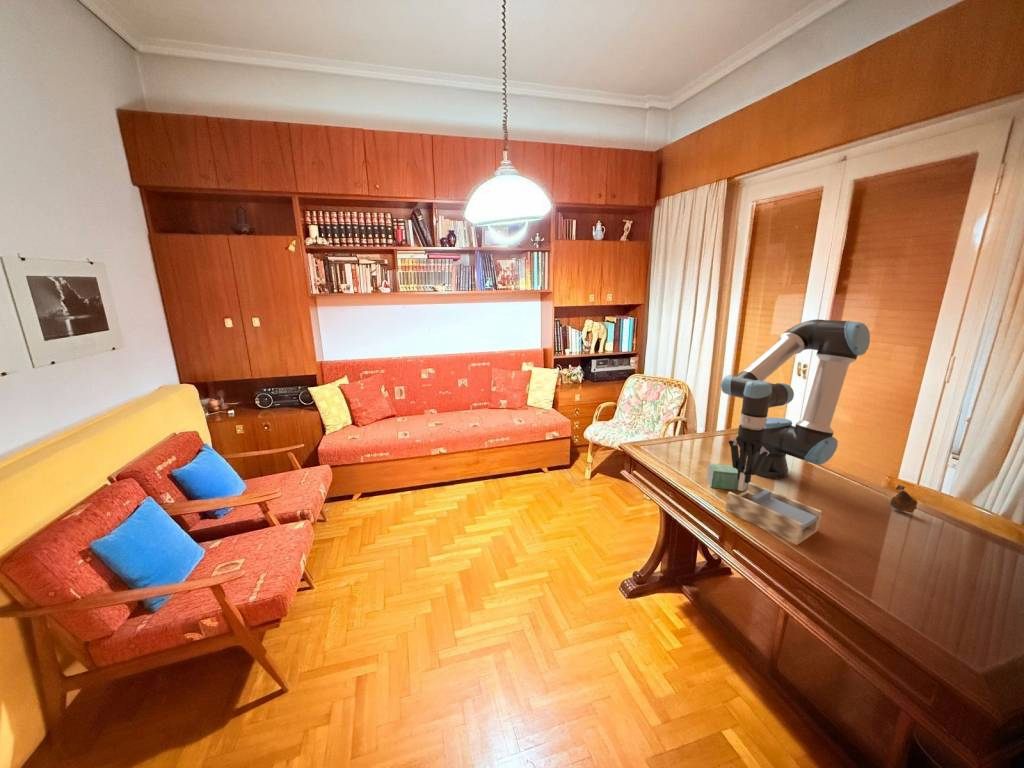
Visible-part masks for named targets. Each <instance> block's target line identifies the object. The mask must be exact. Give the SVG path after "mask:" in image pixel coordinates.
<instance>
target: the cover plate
mask: <svg viewBox="0 0 1024 768" xmlns="http://www.w3.org/2000/svg"><path fill="white" fill-rule="evenodd" d="M769 490H770V489H768V490H764V491H762V492H760V493H758V494H756V495H754V496H753V497H752V501H753V502H755V503H757V504H759V505H762V506H764V507H766V508H769V509H771V510H773V511H775V512H778V513H780V514H782V515H784V516H787V517H789V518H791V519H794V520H796V521H798V522H800V523H803V525H802V530H803V529H805V528H806V527H808V526H809V525H811V524H812V523H814V522H815V521H817V517H818V516H816V515H813V514H811V513H809V512H806V511H804V510H801V509H799V508H796V507H794V506H792V505H789V504H787V503H784V502H782V501H780V500H777V499H775V498H772V497H771V491H772V490H770V491H769ZM802 530H801V531H802Z"/></svg>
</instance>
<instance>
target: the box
mask: <svg viewBox="0 0 1024 768" xmlns="http://www.w3.org/2000/svg"><path fill="white" fill-rule="evenodd" d="M745 469H746V467H745ZM744 471H745V470H744ZM737 475H738V470H737V469H736V468H733V465H729V464H727V465H726V464H717V463H716V464H715V463H708V467H707V472H706V482H707V484H708V485H710V486H709V487H710V488H712V489H721V490H732V491H740V490H738V485H739V480H738V479H737ZM750 483H752V482H751V480H750ZM747 486H748V483H747ZM745 491H747V488H746V490H744V491H743V492H745Z"/></svg>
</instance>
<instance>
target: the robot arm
mask: <svg viewBox="0 0 1024 768" xmlns="http://www.w3.org/2000/svg"><path fill="white" fill-rule="evenodd" d="M777 338H778V339H777V341H776V342H775V343H774V344H773V345H772V346H771V347H769V348H768V349H767V350H766V351H764V352H763V353H762V354H761V355H760V356H759V357H757V358H756V359H755V360H753V361H752V362H751V363H750V364H749V365H748V366H747V367H746V368H744V369H743V370H742V371H740V372H739V373H738V374H737V375H735V374H727V375H726V376H724V377H723V379H722V380H721V383H720V389H721V391H722V393H724V394H726V395H728V396H731V397H735V398H739V399H742V404H741V405H742V406H741V412H740V416H739V417H740V418H739V425H738V431H737V436H736V438H735V439H734V438H733V439H730V440H728V444H729V446H730V452H731V461H732V466H733V468H736V469H737V470H738V475H737V479H738V480H739V485H738V490H737V491H739V490H740V491H741V492H745V491H744V490H746V488H747V483H749V482H750V480H751V479H752V476H755V475H758V476H761V477H764V478H769V479H785V478H787V477H788V474H789V466H788V462H787V458H786V457H787V455H788V456H790V457H792V458H795V459H799V460H801V461H804V462H806V463H810V464H814V465H819V466H821V465H823V464H825V463H827V462H828V461H830V460H831V458H832V457H833V456H834V455H835V452H836V450H837V449H838V446H839V445H838V439H837V438H835V437H834V436H833V435H834V430H833V429H832V427H831V425H832V422H833V418H834V415H835V412H836V408H837V405H838V402H839V398H840V396H841V392H842V389H843V386H844V382H845V380H846V376H847V372H848V370H849V366H850V364H851V363H853V362H856V361H857V359H858V356H863V355H865V354H866V353H867V350H868V349H869V346H870V342H871V333H870V330H869V328H868V326H867V325H866V324H865V323H863V322H860V321H852V320H836V319H835V320H832V319H831V320H830V319H811V320H806V321H803V322H800V323H799V324H796V325H794V326H792V327H790V328H789V329H787V330H786V331H784V332H782V334H781V335H779V337H777ZM807 350H813V351H814V350H815V351H817V352H816V356H817V357H818V359H819V362H818V366H817V369H816V372H815V376H814V378H813V382H812V386H811V388H810V389H811V390H810V392H809V395H808V399H807V403H806V407H805V409H804V413H803V416H802V419H801V420H799V421H798V422H796V424H795V425H793V422H792V420H790V419H787V418H783V417H768V413H769V408H774V407H782V406H784V405H787V404H789V403H790V402H792V400H794V396H795V392H794V390H793V388H792V387H791V385H789V384H787V383H782V382H778V383H777V382H776V383H772V382H769V381H765V380H767V378H768V377H770V376H771V375H772V374H773V373H774V372H775V371H777V370H778V369H779V368H780V367H781V366H782V365H784V364H785V363H787V361H788V360H789V359H791V358H792V357H793V356H794V355H798V354H801V353H802V352H804V351H807ZM745 468H746V469H745ZM744 470H745V471H744ZM750 483H751V482H750Z"/></svg>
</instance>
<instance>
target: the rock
mask: <svg viewBox="0 0 1024 768" xmlns="http://www.w3.org/2000/svg"><path fill="white" fill-rule="evenodd" d="M904 489H906V486H904V485H900V484H898V486H896V488H895V491H900V492H899V493H897V494H896V495H894V496H893V497H892V498H891V499H890V503H889V505H890V506H891V507H892V508H893V509H895V510H896V511H898V512H905V513H913V512H914V511H915V510H916V509H917V505H918V502H917V501H918V500H916V499H915V498H913V496H911V495H910V494H909V493H908V491H905V490H904Z"/></svg>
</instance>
